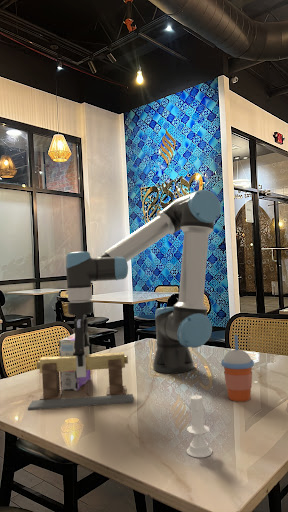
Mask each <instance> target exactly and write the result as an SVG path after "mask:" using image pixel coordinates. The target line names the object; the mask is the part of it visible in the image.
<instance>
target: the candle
mask: <svg viewBox="0 0 288 512" xmlns="http://www.w3.org/2000/svg"><path fill="white" fill-rule="evenodd" d="M189 399H190V400H189V401H190V402H189V410H190V413H191V415H190V416H191V425H190V426H188V427H187V428H186V431H187V432H188V433H190V434H192V435H193V438H192V441H191V442H190V443H189V447H188V448H187V449H186V454H187V455H188V456H190V457H193V458H198V459H200V458H206V457H209V456H211V455H212V454H213V449H212V448H211V447H210V446H209V443H208V442H207V441H206V438H205V437H204V435H206V434H207V433H208V432H209V431H210V427H209V426H207V425H205V417H204V416H205V415H204V414H205V413H204V411H205V408H204V401H203V400H204V399H203V396H202V395H198V394H195V393H194V395H192V396H190V397H189Z"/></svg>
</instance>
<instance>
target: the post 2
mask: <svg viewBox="0 0 288 512" xmlns="http://www.w3.org/2000/svg"><path fill="white" fill-rule="evenodd" d="M123 381H124V380H123V368H122V365H121V360H114V361H108V385H109V386H106V395H105V396H110V395H124V394H127V386H126V385H124V384H123Z"/></svg>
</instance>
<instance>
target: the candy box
mask: <svg viewBox="0 0 288 512" xmlns="http://www.w3.org/2000/svg"><path fill="white" fill-rule="evenodd" d="M89 337H90V336H89V333H88V341H89V342H90V338H89ZM58 346H59V347H58V348H59V352H58V355H59V356H71V355H73V353H75V333H73V334H71V335H68V336H67V337H64V338H62V339H60V340H59V341H58ZM87 347H88V351H89V354H90V346H87ZM91 374H92V373H91V370H86V377H77V371H63V372H59V380H60V390H64V391H74V392H75V391H76V392H77V391H79V390H80V388H82V387H83V386H84V385H86V384H87V383H88V382H89V381H90V380H91V379H92V378H91V377H92V376H91Z"/></svg>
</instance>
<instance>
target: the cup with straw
mask: <svg viewBox="0 0 288 512" xmlns="http://www.w3.org/2000/svg"><path fill="white" fill-rule="evenodd" d="M238 337H239V336H238V334H234V349H232V350H230V351H228V352H227V353H225V355H224V357H223V359H222V360H221V366H222V367H223V368H224V369H223V370H224V371H223V374H224V381H225V386H226V389H227V396H228V399H229V400H231V401H233V402H246V401H249V400H251V398H252V397H251V396H252V393H251V392H252V387H253V386H252V385H253V371H252V369H253V368H252V367H254V366H255V362H254V359H252V357H251V356H250V355H249V353H247V352H246V351H244V350H243V349H239V338H238Z"/></svg>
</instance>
